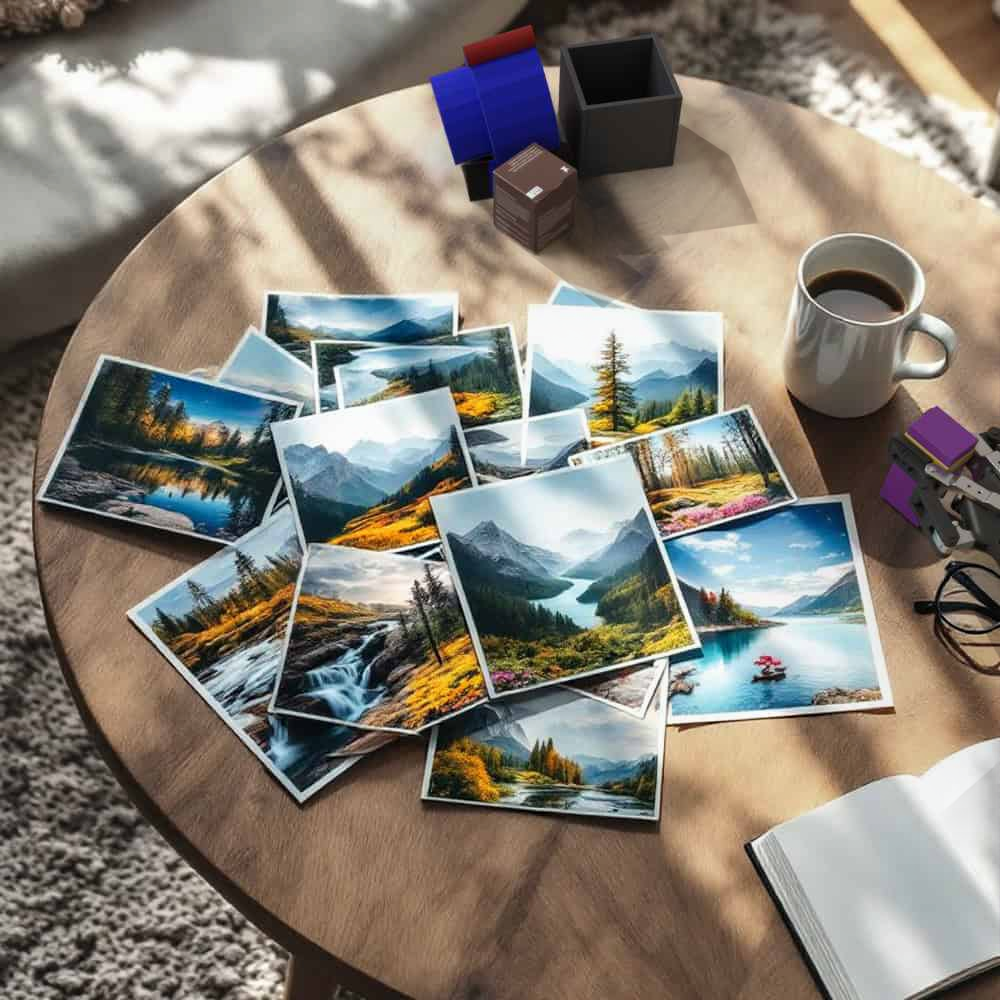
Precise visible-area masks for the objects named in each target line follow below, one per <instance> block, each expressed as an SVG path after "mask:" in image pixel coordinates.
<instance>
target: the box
mask: <svg viewBox="0 0 1000 1000" xmlns="http://www.w3.org/2000/svg"><path fill="white" fill-rule="evenodd" d="M577 173H578V171H577V170H576V169H575V167H573V166H571V165H570V164H568V163H567V162H566V161H564V160H562V159H561V158H559V157H558V156H557V157H556V156H555V155H553V154H552V153H550V152H549V151H547V150H546V149H544V148H543V147H541V146H540V145H538V144H537V143H535V142H534V143H532V144H531V145H530V146H528V147H527V148H525V149H524V150H522V151H521V152H520V153H518V154H517V155H515V156H514V157H512V158H511V159H510V160H508V161H507V162H505V163H504V164H502V165H501V166H500V167H498V168H497V169H495V170H494V171H493V198H492V204H493V205H492V207H493V208H492V211H493V212H492V213H493V216H492V218H493V221H492V222H493V225H494V227H495V228H496V229H498V230H499V231H500V232H502V233H503V234H505V235H506V236H507V237H510V239H512V240H514V241H515V242H517V243H518V244H519V245H520V246H522V247H523V248H525V249H526V250H527V251H528V252H529V253H531V254H533V255H536V254H538V252H540V251H542V250H543V249H545V247H547V246H548V245H549V244H551V243H552V242H553V241H555V240H556V239H557V238H559V237H560V236H562V235H563V234H564V233H566V232H567V231H568V230H569V229H571V228H572V227H573V226H575V224H576V207H577V206H576V205H577V189H578V188H577V187H578V186H577V185H578V175H577Z"/></svg>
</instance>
